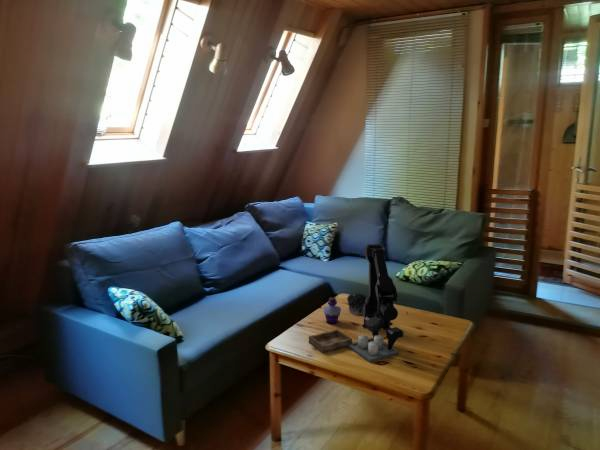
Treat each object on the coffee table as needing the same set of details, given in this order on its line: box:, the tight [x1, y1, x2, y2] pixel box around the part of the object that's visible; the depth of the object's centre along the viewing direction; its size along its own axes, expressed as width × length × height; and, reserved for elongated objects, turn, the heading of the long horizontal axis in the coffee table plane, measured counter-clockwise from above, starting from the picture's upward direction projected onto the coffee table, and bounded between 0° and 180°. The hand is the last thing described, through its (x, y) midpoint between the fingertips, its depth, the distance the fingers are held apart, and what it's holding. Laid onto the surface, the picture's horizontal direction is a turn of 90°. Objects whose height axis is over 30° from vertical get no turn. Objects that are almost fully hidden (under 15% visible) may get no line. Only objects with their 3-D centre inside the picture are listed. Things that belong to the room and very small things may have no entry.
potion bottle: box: [323, 297, 342, 325], centre depth 220 cm, size 9×9×12 cm
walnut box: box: [308, 329, 353, 354], centre depth 199 cm, size 15×11×3 cm
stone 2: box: [368, 342, 378, 356], centre depth 189 cm, size 4×4×4 cm
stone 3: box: [374, 334, 385, 350], centre depth 194 cm, size 4×4×4 cm
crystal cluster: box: [347, 293, 367, 316], centre depth 235 cm, size 13×14×10 cm
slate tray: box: [347, 337, 400, 364], centre depth 194 cm, size 15×15×1 cm
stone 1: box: [357, 334, 369, 349], centre depth 195 cm, size 4×4×4 cm
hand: (382, 345), depth 196 cm, fingers open, 9 cm apart
